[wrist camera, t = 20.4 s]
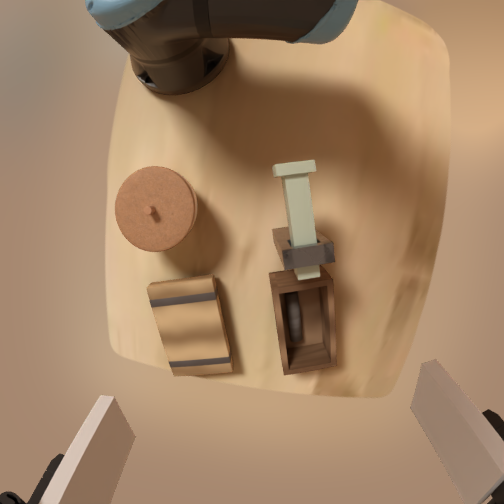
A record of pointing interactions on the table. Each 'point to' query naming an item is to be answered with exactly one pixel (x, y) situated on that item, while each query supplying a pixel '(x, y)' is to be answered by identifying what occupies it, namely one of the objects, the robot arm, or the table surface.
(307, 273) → the bolt
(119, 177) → the table surface
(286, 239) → the keeper
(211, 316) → the lid
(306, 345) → the open wooden box
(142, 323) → the table surface
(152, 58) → the robot arm
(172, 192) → the lidded jar
